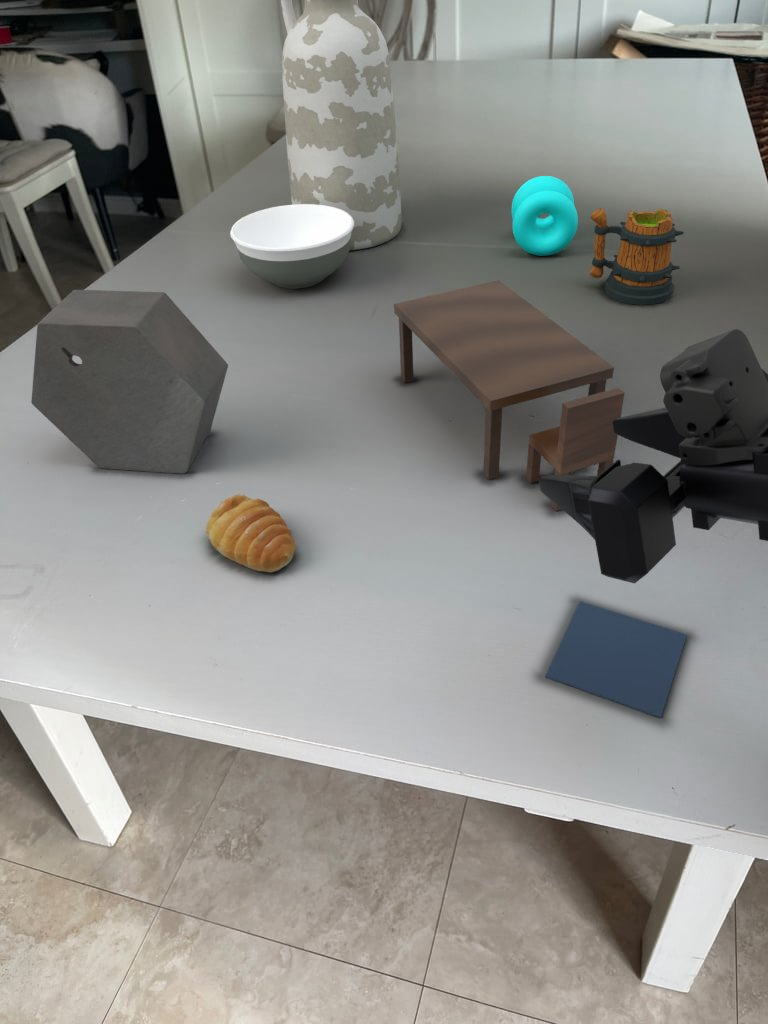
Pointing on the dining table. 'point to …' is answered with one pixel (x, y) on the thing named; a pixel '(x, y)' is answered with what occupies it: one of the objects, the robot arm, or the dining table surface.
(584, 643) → the mat
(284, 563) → the pastry
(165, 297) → the grey hexagonal prism
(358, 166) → the vase
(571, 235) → the donuts
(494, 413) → the side table
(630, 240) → the mug
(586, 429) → the chair
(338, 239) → the bowl
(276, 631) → the dining table surface
